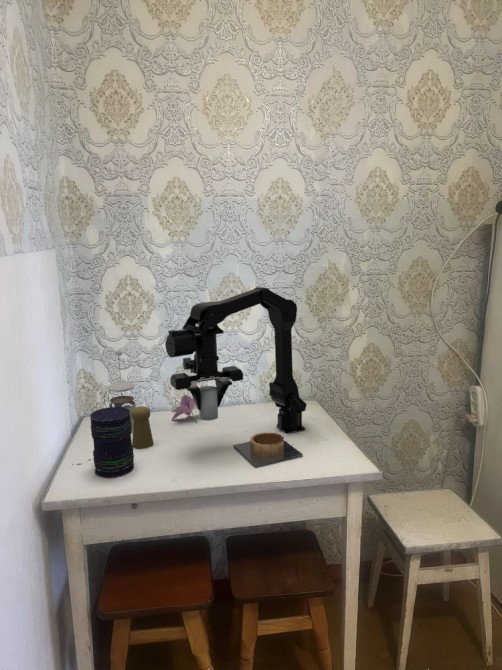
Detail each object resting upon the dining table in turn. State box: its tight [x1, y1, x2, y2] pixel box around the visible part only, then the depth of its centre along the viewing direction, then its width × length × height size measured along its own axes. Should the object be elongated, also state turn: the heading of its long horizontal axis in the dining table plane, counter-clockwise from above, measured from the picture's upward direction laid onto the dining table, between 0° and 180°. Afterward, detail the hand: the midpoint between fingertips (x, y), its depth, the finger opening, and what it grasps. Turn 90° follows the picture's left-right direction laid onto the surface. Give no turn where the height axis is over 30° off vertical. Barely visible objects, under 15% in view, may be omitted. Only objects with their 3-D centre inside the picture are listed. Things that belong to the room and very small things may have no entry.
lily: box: [171, 394, 198, 424], centre depth 160 cm, size 12×12×10 cm
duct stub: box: [198, 385, 219, 422], centre depth 135 cm, size 5×5×8 cm
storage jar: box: [89, 406, 135, 479], centre depth 127 cm, size 10×10×15 cm
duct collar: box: [232, 431, 304, 469], centre depth 136 cm, size 14×14×4 cm
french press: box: [103, 349, 136, 435], centre depth 153 cm, size 10×12×25 cm
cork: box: [131, 405, 155, 450], centre depth 142 cm, size 6×6×11 cm
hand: (208, 408), depth 135 cm, fingers closed on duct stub, 5 cm apart
